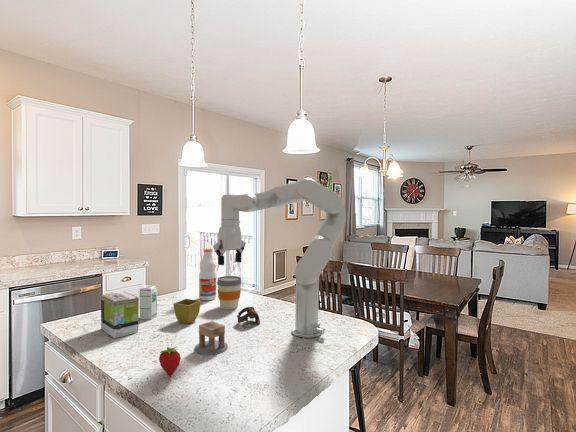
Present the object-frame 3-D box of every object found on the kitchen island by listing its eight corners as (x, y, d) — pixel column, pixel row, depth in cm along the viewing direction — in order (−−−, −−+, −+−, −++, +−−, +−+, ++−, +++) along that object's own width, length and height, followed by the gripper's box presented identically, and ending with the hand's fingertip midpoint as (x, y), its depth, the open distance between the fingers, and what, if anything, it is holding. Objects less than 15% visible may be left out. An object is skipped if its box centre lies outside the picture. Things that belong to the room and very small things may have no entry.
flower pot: (172, 323, 149) (172, 303, 149) (185, 317, 157) (185, 298, 157) (188, 326, 146) (188, 305, 145) (201, 320, 154) (201, 300, 153)
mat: (234, 347, 124) (234, 346, 124) (207, 358, 115) (207, 357, 115) (214, 338, 132) (214, 337, 132) (187, 348, 123) (187, 347, 123)
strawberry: (167, 383, 98) (167, 350, 98) (154, 375, 103) (154, 343, 103) (185, 376, 103) (185, 344, 103) (172, 368, 108) (172, 337, 108)
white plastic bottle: (212, 295, 195) (212, 247, 195) (218, 299, 188) (219, 249, 187) (196, 297, 190) (196, 248, 189) (202, 301, 182) (203, 250, 182)
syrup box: (151, 319, 153) (152, 288, 153) (139, 319, 153) (139, 287, 153) (157, 315, 159) (157, 285, 158) (144, 315, 159) (144, 284, 158)
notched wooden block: (212, 341, 128) (212, 320, 128) (224, 347, 124) (224, 325, 123) (198, 346, 124) (199, 325, 124) (211, 352, 119) (211, 330, 119)
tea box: (139, 332, 138) (139, 296, 137) (113, 339, 130) (113, 301, 130) (124, 323, 148) (124, 290, 148) (100, 329, 141) (100, 294, 140)
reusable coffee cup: (239, 311, 168) (239, 281, 167) (214, 310, 168) (214, 280, 167) (242, 303, 180) (243, 276, 180) (219, 303, 180) (220, 275, 180)
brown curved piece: (260, 328, 146) (251, 313, 144) (241, 336, 147) (232, 321, 145) (263, 312, 157) (255, 298, 155) (245, 320, 159) (237, 306, 157)
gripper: (239, 222, 152) (238, 260, 152) (208, 223, 138) (208, 265, 139) (250, 223, 147) (250, 262, 147) (220, 224, 133) (219, 267, 134)
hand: (230, 263), depth 143 cm, fingers open, 9 cm apart
